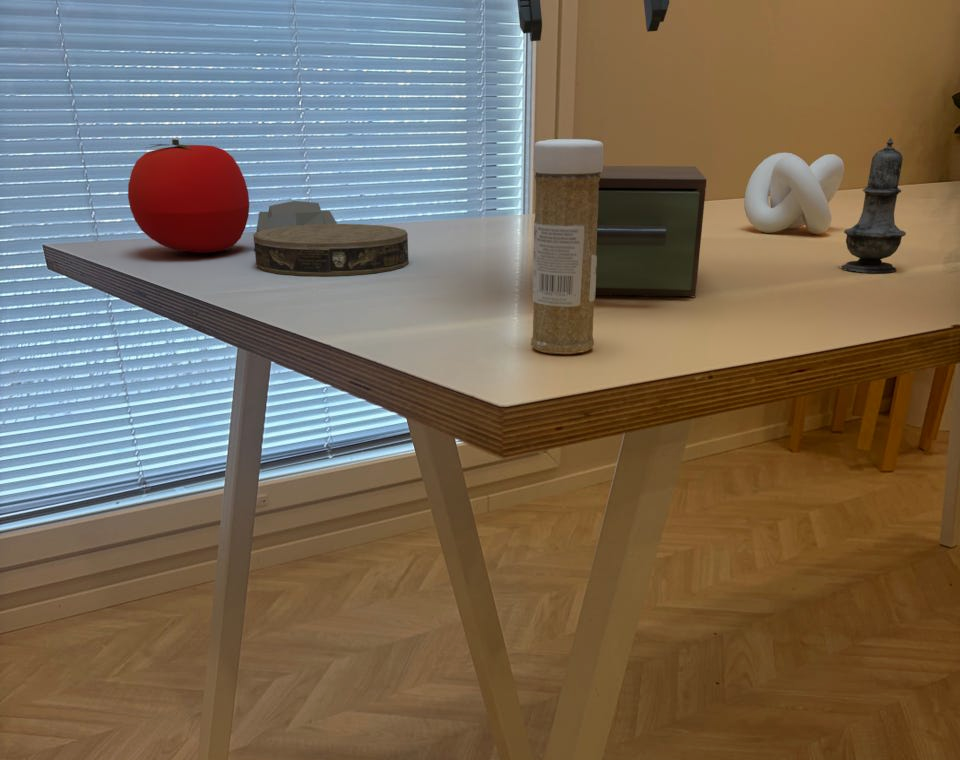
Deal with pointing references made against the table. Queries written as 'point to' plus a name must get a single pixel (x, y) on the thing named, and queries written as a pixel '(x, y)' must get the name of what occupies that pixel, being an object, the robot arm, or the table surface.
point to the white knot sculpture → (793, 193)
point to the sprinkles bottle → (565, 244)
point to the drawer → (646, 238)
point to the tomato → (189, 197)
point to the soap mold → (293, 215)
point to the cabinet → (658, 180)
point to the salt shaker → (877, 216)
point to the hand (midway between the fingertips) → (595, 30)
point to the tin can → (331, 249)
